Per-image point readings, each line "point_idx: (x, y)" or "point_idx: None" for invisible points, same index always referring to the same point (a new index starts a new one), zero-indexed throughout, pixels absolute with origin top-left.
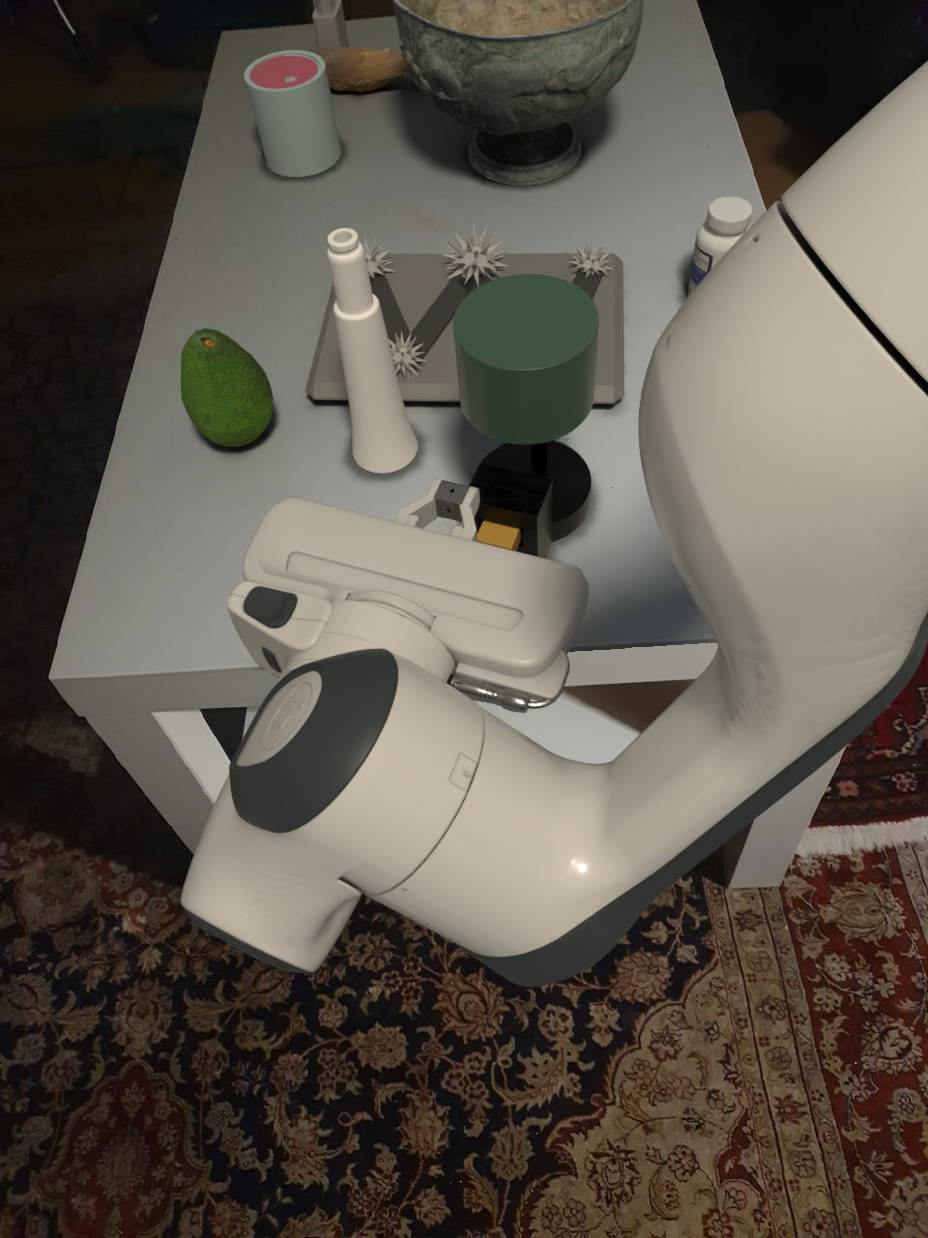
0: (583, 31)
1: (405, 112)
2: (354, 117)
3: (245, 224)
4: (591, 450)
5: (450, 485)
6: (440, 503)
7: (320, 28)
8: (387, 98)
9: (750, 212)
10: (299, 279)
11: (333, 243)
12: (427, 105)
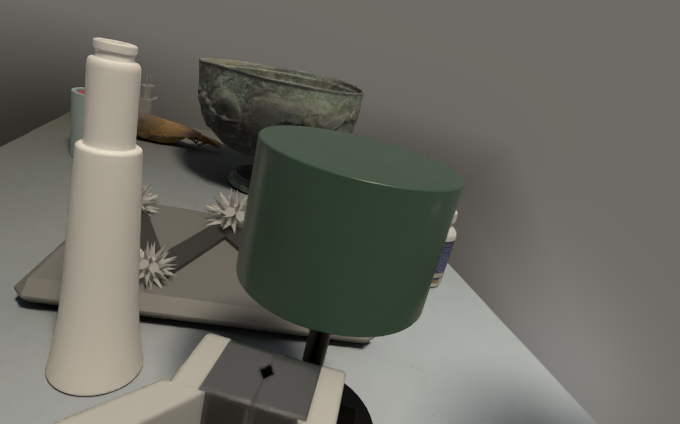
0: (332, 95)
1: (186, 155)
2: (149, 150)
3: (29, 174)
4: (351, 388)
5: (260, 355)
6: (220, 414)
7: (139, 104)
8: (175, 148)
9: (457, 212)
10: (61, 211)
11: (100, 40)
12: (202, 156)
